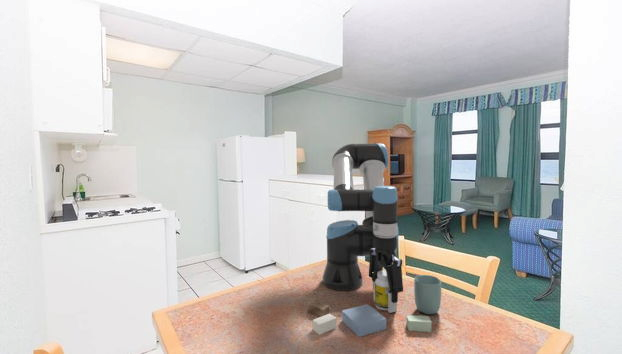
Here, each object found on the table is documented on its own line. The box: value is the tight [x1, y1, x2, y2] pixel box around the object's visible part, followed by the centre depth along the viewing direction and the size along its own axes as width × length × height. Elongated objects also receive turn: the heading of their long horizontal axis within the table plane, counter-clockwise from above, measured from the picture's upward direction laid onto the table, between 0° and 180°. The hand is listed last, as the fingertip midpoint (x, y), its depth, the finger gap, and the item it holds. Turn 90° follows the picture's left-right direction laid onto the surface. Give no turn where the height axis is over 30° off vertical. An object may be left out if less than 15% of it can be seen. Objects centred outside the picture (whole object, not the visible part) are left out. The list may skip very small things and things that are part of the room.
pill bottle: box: [374, 269, 394, 312], centre depth 96 cm, size 6×6×11 cm
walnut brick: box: [307, 299, 331, 318], centre depth 92 cm, size 6×3×3 cm, turn 49°
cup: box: [413, 274, 442, 315], centre depth 92 cm, size 8×8×10 cm
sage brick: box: [406, 314, 432, 333], centre depth 84 cm, size 6×3×3 cm, turn 84°
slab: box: [341, 303, 387, 338], centre depth 86 cm, size 9×9×3 cm
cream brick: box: [312, 313, 337, 336], centre depth 84 cm, size 6×3×3 cm, turn 124°
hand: (384, 305), depth 96 cm, fingers open, 7 cm apart
